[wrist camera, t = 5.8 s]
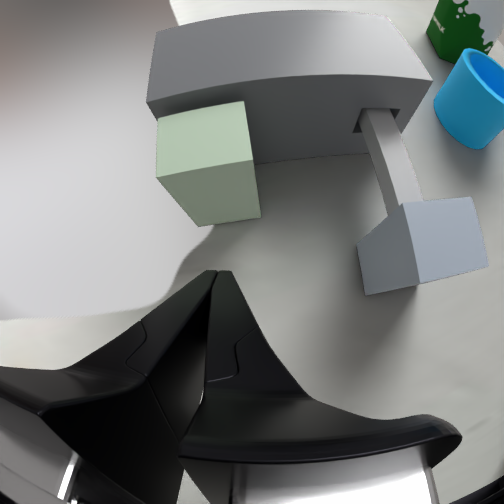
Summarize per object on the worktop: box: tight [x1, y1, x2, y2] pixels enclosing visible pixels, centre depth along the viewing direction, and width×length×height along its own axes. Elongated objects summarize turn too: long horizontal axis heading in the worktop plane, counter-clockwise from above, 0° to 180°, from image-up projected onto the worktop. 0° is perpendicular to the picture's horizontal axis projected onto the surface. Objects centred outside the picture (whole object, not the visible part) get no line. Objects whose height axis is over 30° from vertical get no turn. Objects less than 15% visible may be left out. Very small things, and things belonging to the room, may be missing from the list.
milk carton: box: [426, 0, 504, 64], centre depth 16 cm, size 9×9×20 cm
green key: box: [156, 101, 261, 227], centre depth 20 cm, size 14×5×9 cm, turn 7°
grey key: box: [356, 108, 489, 296], centre depth 18 cm, size 16×5×9 cm, turn 7°
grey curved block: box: [146, 10, 433, 164], centre depth 20 cm, size 8×18×10 cm, turn 97°
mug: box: [434, 48, 504, 149], centre depth 20 cm, size 12×8×8 cm
